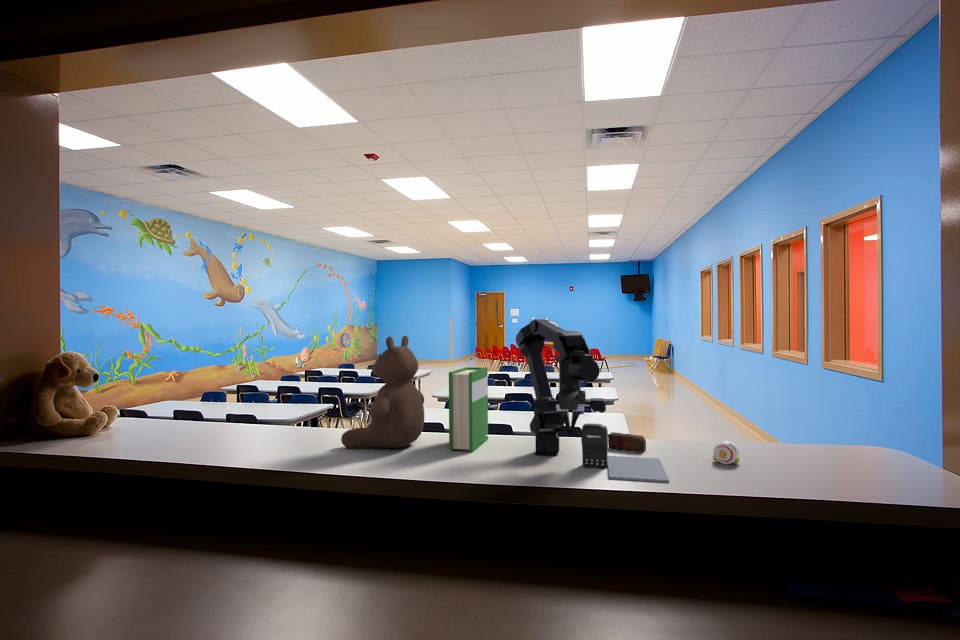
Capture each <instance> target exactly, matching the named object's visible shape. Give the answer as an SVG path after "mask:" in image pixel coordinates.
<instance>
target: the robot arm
mask: <svg viewBox="0 0 960 640" xmlns="http://www.w3.org/2000/svg"><path fill="white" fill-rule="evenodd" d="M515 336H516V337H515V343H516V345H517V347H518V351H519V353H521V354H522V356H523V357H524V358H526V360H527V361H526V362H527V366H528V369H529V375H530V377H531V382H532V386H533V390H534V396H535V400H534V410H533V413H534V414H533V417H532V419H531V421H530V423H529V430H530V432H531V433H533V434H535V451H534V455H537V456H558V453H560V444H561V443H560V442H561V441H560V436H558V433H563V431H564V426H565V429H566V430H567V431H566V432H567V434H568V436H569V437H572V436H573V433H574V430H575V426H576V424H577V420H578V419H579V417H580V415H584V414H585V409H591V410H592V411H593V412H596V413H597V412H599V413H600V412H602V413H603V412H605V413H606V412H607V410H606V409H607V406H606V404H607V403H606V399H604V398H603V397H602V398H601V397H597V398H596V397H590V400H587V397H586V396H587V395H586V390H582V383H581V382H587V383H592V382H594V381H596V380H597V379H598V377H599V376H600V372H601V369H600V366H599V364H598V362H597V361H596V360H594V359H593V355H592V354H591V350H590V348H589V347H588V345H587V342H586V339H585V337H584V335H583V333H581V331H576V330H565V329H563V328H561V327H560V326H557V325H556V324H554V323H552V322H551V321H549V320H548V319H546V318H542V319H541V318H538V319H537V318H534V319H532V320H531V321H530V323H528V324H527V325H525V326H523V327H522V328H520V329H519V331H518V333H517V334H516V335H515ZM546 340H548V341H549V342H551V343H552V347H553V349H554V350H555V351H556V352H557V353H558V356H556V357H555V361H558V364H559V365H558V371H559V372H558V376H559V379H558V381H559V382H558V383H559V386H558V387H559V388H558V389H559V391H558V398H557V399H555V398H554V396H553V394H552V390H551V386H550V382H549V377H548V374H547V370H546V369H547V368H546V367H545V366H546V365H545V362H544V359H543V352H544V347H545V342H546ZM569 410H572V414H571V420H570V414H569ZM570 421H571V423H570Z"/></svg>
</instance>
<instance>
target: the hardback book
mask: <svg viewBox="0 0 960 640" xmlns="http://www.w3.org/2000/svg"><path fill="white" fill-rule="evenodd" d="M488 376H489V375H488V367H476V366H475V367H473V366H471V367H469V366H467V367H466V366H465V367H461V368H458V369H455V370H452V371H448V433H449V434H448V440H449V441H448V451H449V452H453V451H455V450H467V451H468V450H469V453H472V454H473V453H474V452H475V451H477V450H478V449H479V448H480V447H482V445H483V444H485V443H486V442H487V441H488V440H489V407H488V406H489V405H488V404H489V401H488V400H489V398H488V390H489V389H488V388H489V386H488V382H489V380H488V378H489V377H488ZM486 435H488V436H486Z"/></svg>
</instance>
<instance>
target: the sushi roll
mask: <svg viewBox="0 0 960 640" xmlns="http://www.w3.org/2000/svg"><path fill="white" fill-rule="evenodd" d="M739 450H740V449H739V448H738V446H737V444H735V443H733V442H731V441H729V440H723V441H721V442H719V443H718V444H716V445H715V446H714V448H713V456H712V460H713V461H714V462H716V463H720V464H722V465H731V464H735V465H736V464H738V463H739V462H740V458H739V456H740V451H739Z"/></svg>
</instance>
